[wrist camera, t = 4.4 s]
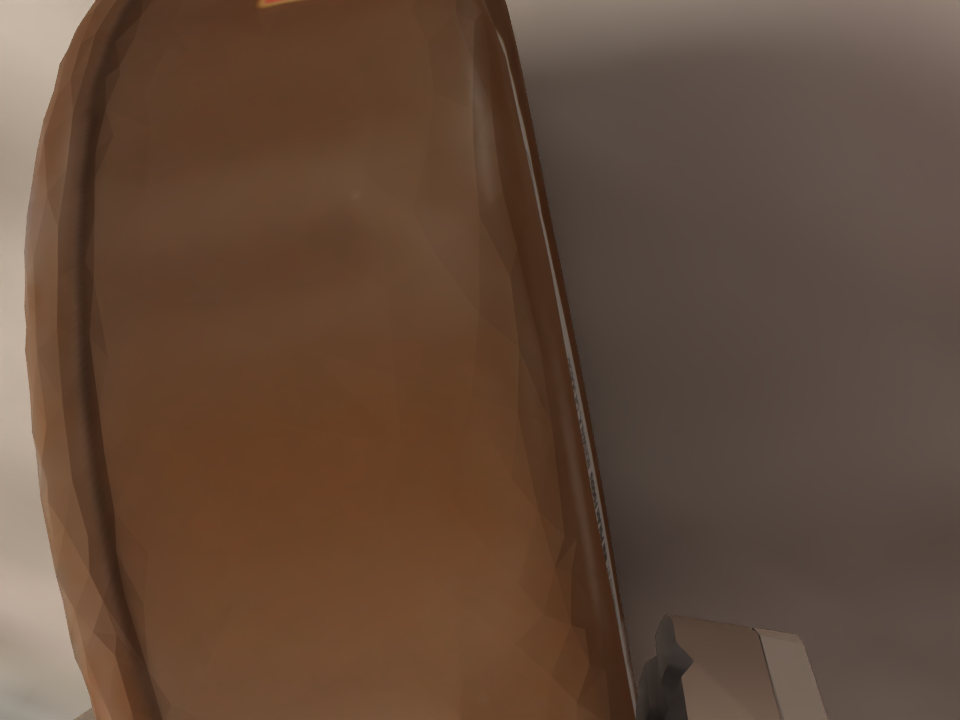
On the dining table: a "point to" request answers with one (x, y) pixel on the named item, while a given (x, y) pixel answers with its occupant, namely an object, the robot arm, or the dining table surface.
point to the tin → (313, 372)
